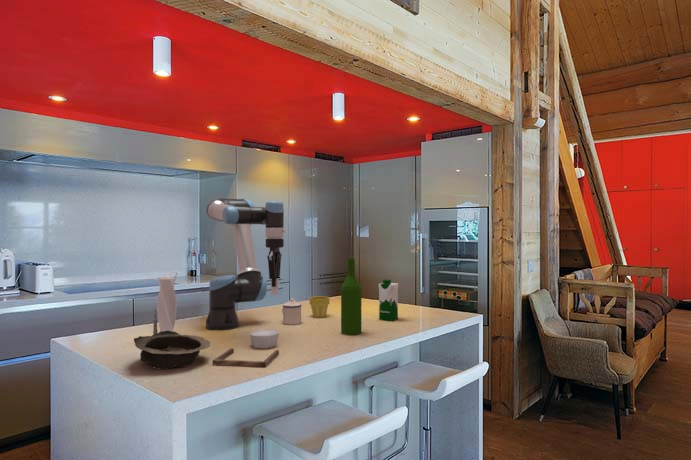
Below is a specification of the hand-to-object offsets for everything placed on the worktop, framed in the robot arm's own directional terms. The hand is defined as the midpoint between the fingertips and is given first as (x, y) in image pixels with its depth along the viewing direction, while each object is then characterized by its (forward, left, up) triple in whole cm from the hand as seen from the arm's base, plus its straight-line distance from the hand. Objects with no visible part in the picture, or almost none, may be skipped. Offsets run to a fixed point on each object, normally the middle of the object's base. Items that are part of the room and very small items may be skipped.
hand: (274, 294), depth 188 cm
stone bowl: (-24, -39, -18) cm, 49 cm away
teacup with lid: (-1, +29, -18) cm, 34 cm away
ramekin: (0, -14, -18) cm, 23 cm away
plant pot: (+10, +46, -18) cm, 51 cm away
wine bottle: (+31, +12, -18) cm, 38 cm away
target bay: (0, -32, -18) cm, 37 cm away
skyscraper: (-43, -10, -19) cm, 48 cm away
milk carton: (+46, +43, -18) cm, 66 cm away
